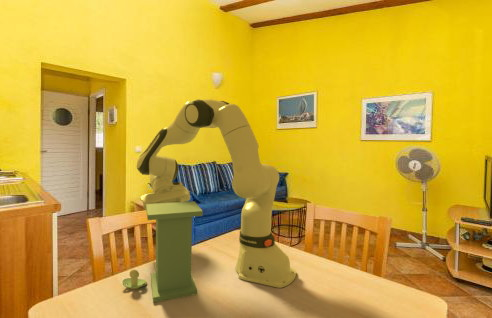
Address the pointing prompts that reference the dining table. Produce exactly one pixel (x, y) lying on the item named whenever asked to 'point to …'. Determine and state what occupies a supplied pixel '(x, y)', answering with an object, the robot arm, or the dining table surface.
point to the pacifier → (134, 280)
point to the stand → (173, 249)
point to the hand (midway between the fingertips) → (170, 208)
